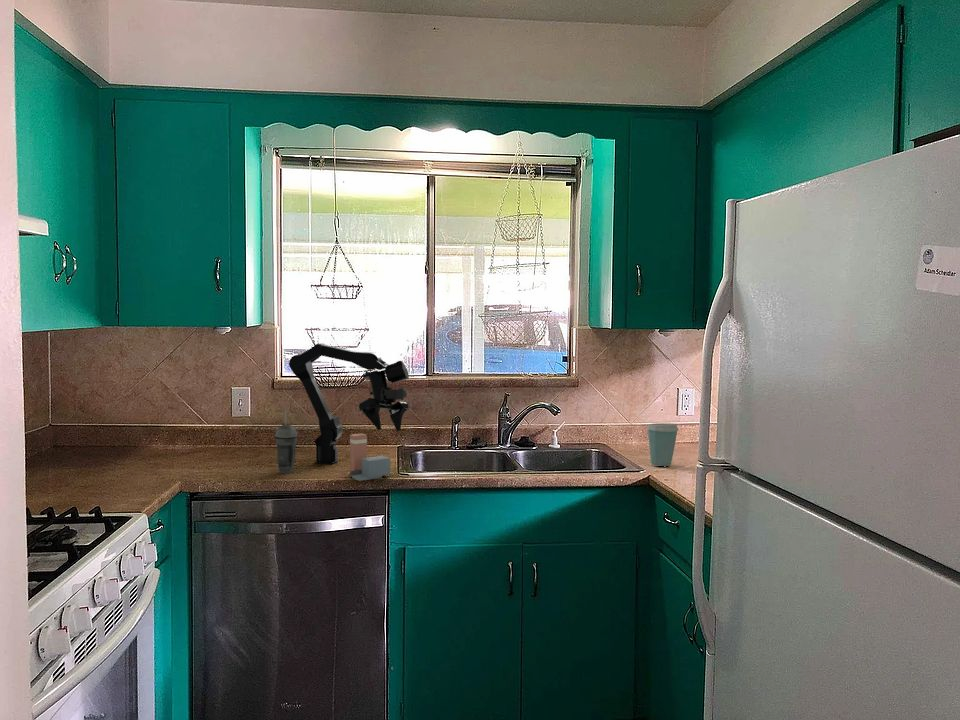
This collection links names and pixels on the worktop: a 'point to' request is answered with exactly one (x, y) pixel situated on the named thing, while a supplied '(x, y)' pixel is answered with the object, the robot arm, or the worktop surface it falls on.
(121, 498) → the worktop surface
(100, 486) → the worktop surface
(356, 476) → the dispenser
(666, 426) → the disposable coffee cup
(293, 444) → the beverage cup
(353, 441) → the pink bottle
